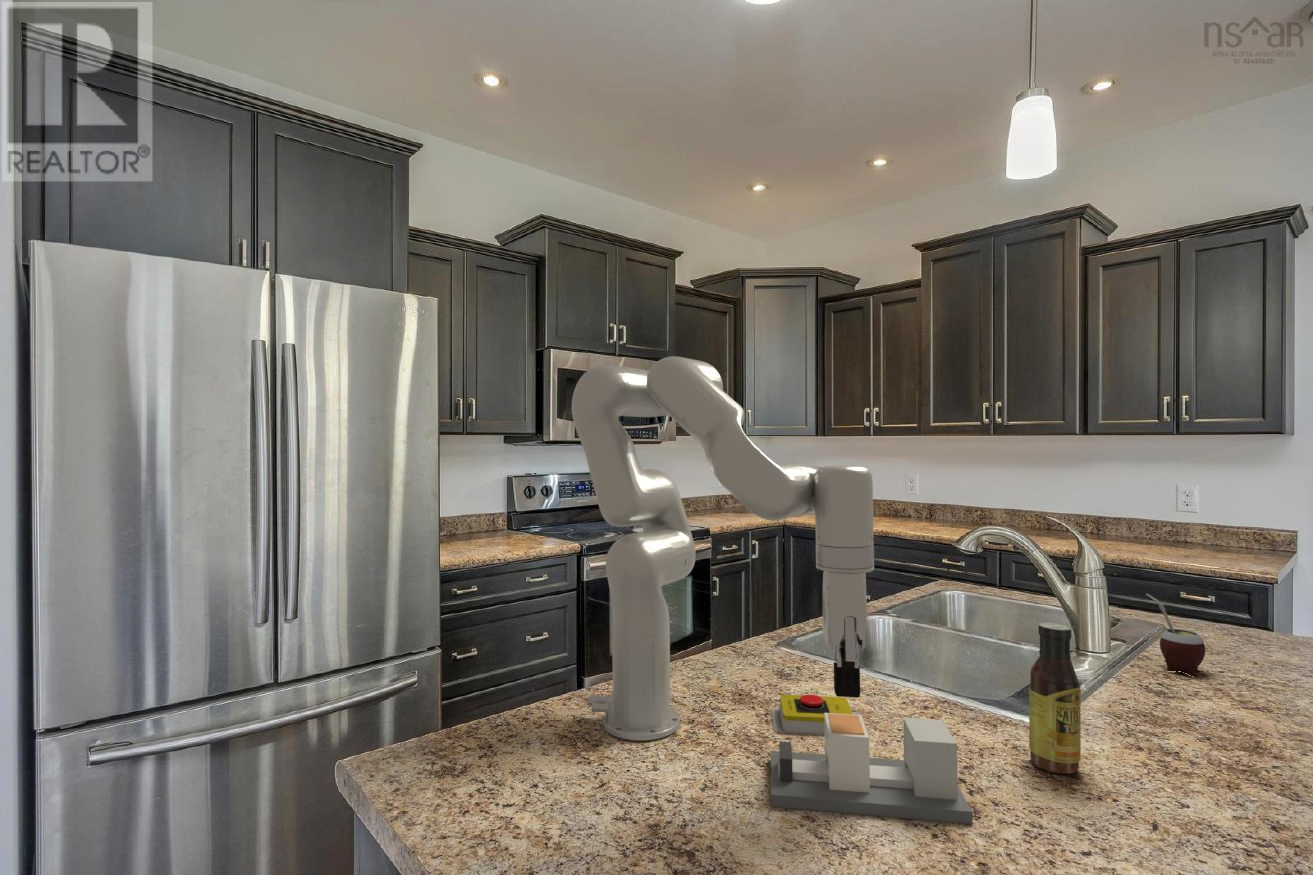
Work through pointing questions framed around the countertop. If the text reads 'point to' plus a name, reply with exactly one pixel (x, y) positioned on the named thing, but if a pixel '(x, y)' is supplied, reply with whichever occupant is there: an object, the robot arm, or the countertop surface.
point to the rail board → (880, 780)
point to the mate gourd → (1181, 647)
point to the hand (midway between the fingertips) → (847, 694)
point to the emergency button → (807, 713)
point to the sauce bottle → (1055, 704)
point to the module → (847, 752)
